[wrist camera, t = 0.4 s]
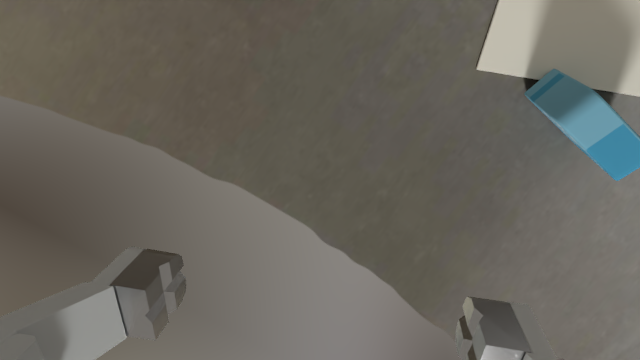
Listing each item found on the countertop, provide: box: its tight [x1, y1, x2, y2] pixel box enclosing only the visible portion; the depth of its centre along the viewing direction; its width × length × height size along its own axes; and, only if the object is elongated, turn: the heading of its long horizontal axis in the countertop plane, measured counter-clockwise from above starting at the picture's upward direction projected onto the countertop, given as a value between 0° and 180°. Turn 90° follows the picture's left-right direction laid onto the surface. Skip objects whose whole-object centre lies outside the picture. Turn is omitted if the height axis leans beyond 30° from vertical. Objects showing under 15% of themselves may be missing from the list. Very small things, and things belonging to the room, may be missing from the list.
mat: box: [476, 0, 640, 97], centre depth 45 cm, size 14×26×1 cm, turn 82°
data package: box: [525, 69, 640, 181], centre depth 44 cm, size 12×4×12 cm, turn 51°
